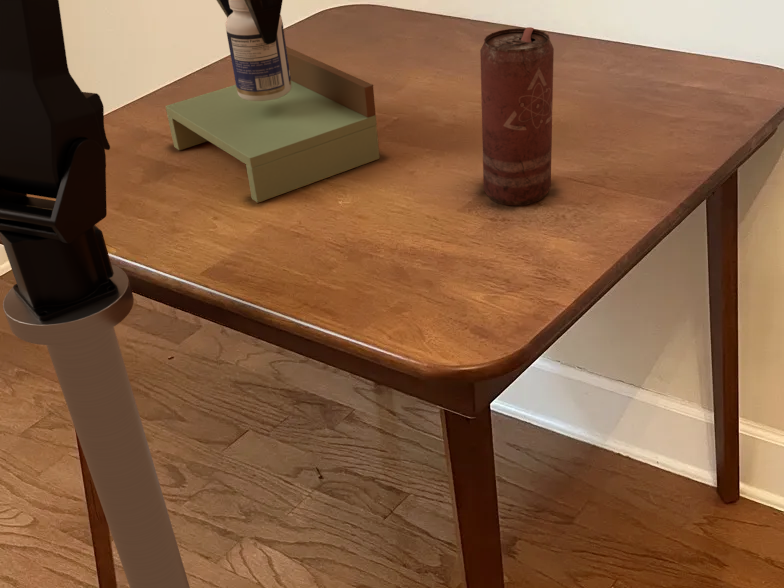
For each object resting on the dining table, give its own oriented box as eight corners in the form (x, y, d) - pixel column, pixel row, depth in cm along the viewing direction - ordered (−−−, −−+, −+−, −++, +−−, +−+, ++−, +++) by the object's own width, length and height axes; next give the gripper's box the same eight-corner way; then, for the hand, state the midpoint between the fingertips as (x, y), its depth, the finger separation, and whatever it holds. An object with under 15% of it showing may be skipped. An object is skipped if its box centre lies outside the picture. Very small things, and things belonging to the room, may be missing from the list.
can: (557, 179, 96) (561, 25, 87) (542, 209, 91) (544, 51, 82) (494, 174, 97) (491, 23, 89) (476, 204, 93) (471, 48, 84)
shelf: (257, 203, 96) (244, 126, 91) (174, 147, 108) (158, 76, 103) (379, 158, 102) (373, 84, 97) (288, 110, 114) (278, 42, 109)
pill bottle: (253, 81, 104) (237, -20, 98) (301, 84, 102) (287, -19, 96) (227, 100, 100) (209, -4, 94) (276, 104, 98) (260, -2, 92)
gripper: (365, -154, 85) (380, 37, 95) (255, -172, 98) (279, -2, 107) (248, -131, 80) (276, 67, 90) (148, -153, 93) (183, 23, 102)
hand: (255, 36), depth 98 cm, fingers closed on pill bottle, 5 cm apart
